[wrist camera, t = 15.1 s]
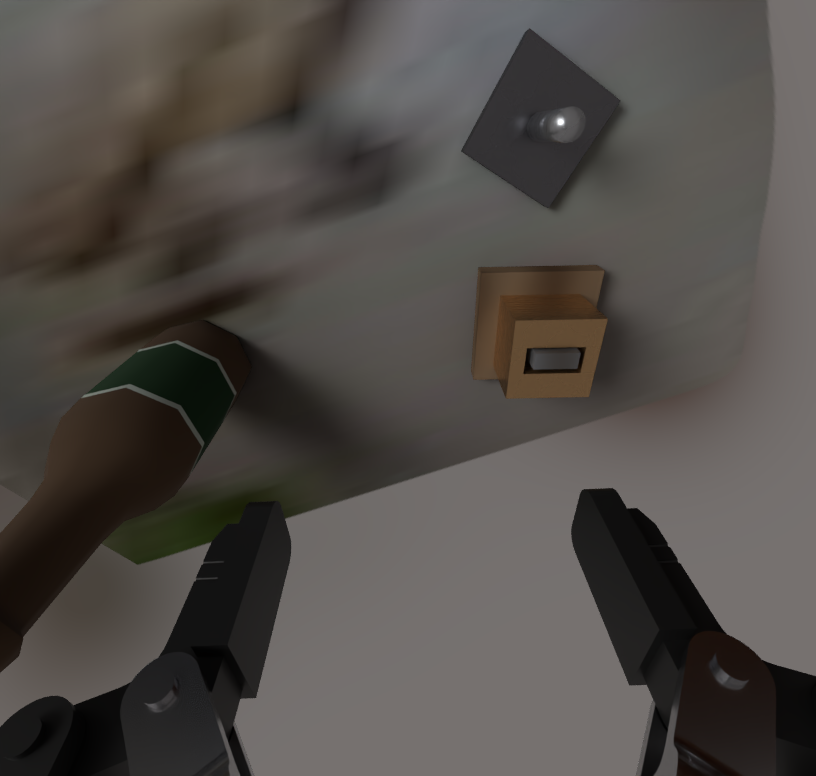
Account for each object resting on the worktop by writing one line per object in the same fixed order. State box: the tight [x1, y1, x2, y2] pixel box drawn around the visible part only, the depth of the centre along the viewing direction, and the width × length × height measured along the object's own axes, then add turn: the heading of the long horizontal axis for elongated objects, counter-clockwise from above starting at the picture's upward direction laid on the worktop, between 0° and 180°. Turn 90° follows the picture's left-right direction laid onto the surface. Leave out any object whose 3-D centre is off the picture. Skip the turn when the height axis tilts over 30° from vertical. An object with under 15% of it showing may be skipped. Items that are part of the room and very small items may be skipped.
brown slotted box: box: [493, 294, 608, 399], centre depth 31 cm, size 6×6×5 cm
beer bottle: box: [0, 320, 252, 672], centre depth 25 cm, size 8×8×24 cm
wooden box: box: [471, 265, 605, 380], centre depth 31 cm, size 9×9×7 cm
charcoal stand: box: [461, 29, 621, 208], centre depth 24 cm, size 7×7×6 cm
